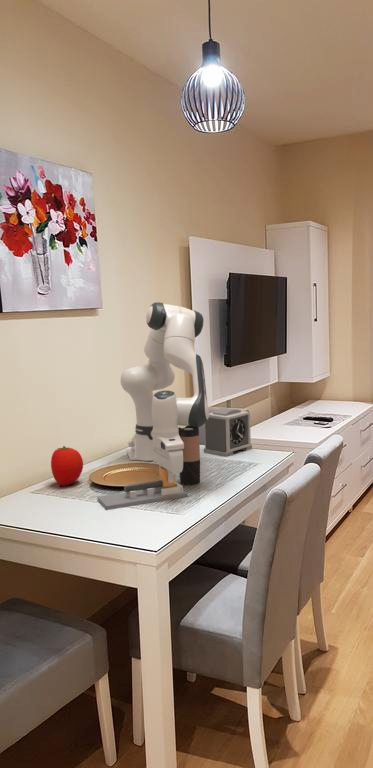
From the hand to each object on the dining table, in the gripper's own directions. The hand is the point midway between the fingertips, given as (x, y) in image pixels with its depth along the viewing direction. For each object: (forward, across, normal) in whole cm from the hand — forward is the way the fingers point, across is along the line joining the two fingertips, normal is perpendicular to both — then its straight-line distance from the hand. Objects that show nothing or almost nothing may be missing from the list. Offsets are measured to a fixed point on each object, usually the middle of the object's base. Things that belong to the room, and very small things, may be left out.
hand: (167, 479), depth 211 cm
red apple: (+5, -29, -28) cm, 41 cm away
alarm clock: (+6, -45, +45) cm, 64 cm away
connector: (+2, 0, -7) cm, 7 cm away
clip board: (+5, 0, -9) cm, 10 cm away
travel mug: (+5, -9, +12) cm, 16 cm away
